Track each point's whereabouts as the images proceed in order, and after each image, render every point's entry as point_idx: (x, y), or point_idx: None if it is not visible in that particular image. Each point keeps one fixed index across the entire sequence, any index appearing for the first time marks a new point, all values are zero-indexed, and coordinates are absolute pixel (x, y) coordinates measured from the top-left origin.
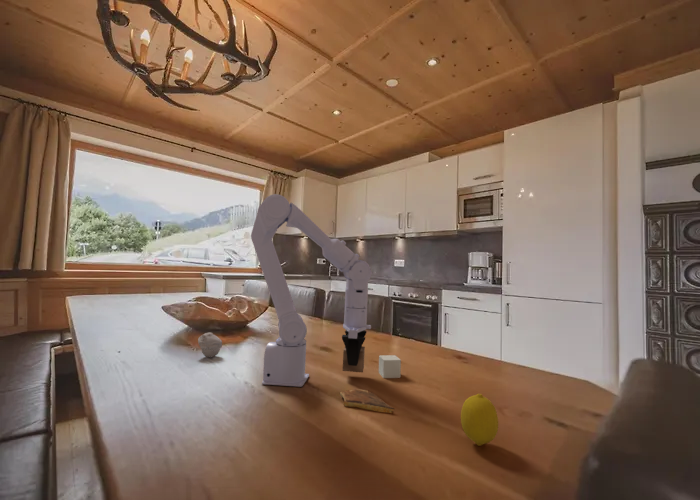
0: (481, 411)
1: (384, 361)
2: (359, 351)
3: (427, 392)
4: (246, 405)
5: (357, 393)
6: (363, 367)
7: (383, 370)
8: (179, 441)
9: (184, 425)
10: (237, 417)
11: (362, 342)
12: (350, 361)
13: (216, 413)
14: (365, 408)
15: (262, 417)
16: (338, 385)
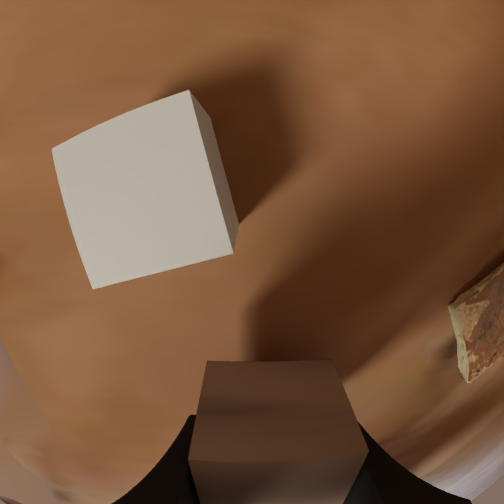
0: None
1: (233, 244)
2: (401, 466)
3: (406, 30)
4: (440, 483)
5: (493, 333)
6: (287, 370)
7: (236, 233)
8: (500, 466)
9: (471, 486)
10: (474, 466)
11: (460, 500)
12: None
13: (453, 488)
14: None
15: (488, 445)
16: (363, 406)
